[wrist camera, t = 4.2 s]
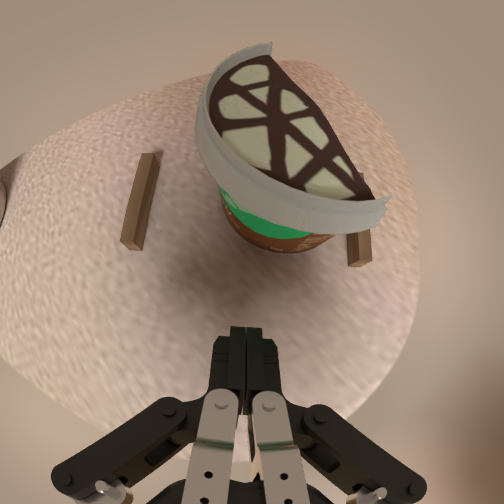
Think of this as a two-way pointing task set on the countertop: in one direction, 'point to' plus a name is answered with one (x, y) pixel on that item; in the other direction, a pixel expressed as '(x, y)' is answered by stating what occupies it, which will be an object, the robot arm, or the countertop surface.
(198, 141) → the food container
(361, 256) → the slot rails
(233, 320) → the countertop surface
